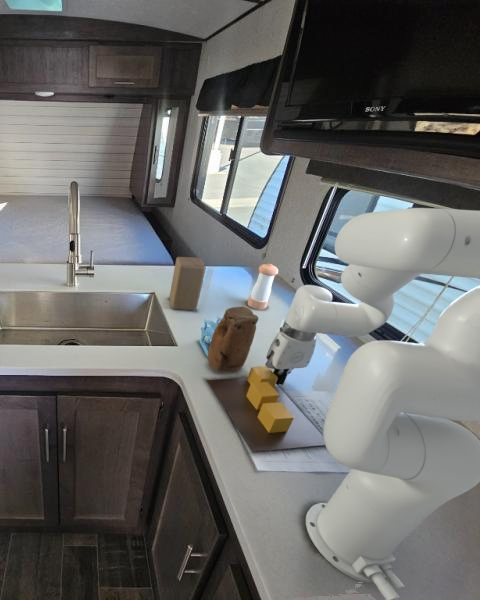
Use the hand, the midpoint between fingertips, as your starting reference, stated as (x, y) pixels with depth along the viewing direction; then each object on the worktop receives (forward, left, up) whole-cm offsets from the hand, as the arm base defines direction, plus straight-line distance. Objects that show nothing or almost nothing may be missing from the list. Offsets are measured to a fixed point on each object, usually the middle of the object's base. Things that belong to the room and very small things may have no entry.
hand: (276, 381), depth 94 cm
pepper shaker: (+46, -23, -2) cm, 51 cm away
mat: (-8, +10, -2) cm, 13 cm away
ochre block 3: (-13, +10, -1) cm, 17 cm away
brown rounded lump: (+10, +11, -2) cm, 15 cm away
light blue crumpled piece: (+19, +11, -2) cm, 22 cm away
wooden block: (+49, +9, -2) cm, 50 cm away
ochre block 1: (0, +5, -1) cm, 5 cm away
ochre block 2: (-6, +9, -1) cm, 11 cm away
